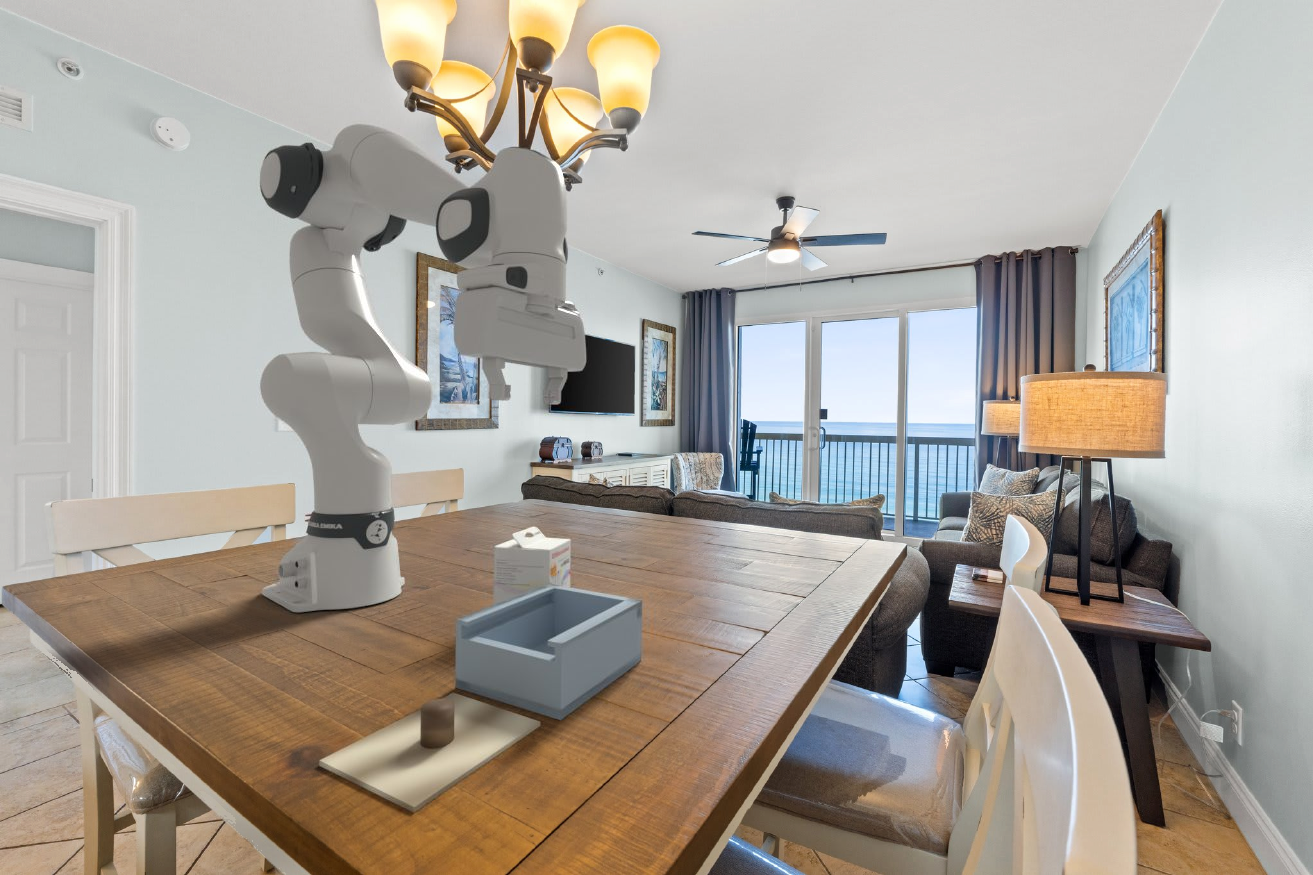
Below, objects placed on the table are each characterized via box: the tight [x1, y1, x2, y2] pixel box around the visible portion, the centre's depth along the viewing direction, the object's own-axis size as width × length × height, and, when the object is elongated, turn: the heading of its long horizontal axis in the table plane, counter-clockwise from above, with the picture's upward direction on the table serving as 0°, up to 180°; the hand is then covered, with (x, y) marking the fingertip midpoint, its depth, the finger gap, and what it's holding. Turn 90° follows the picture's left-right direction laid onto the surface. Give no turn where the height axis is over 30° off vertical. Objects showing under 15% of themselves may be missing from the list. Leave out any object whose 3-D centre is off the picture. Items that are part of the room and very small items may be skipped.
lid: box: [318, 692, 541, 814], centre depth 50 cm, size 12×14×4 cm
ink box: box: [493, 526, 572, 605], centre depth 81 cm, size 9×8×13 cm
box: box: [454, 584, 643, 721], centre depth 65 cm, size 14×16×7 cm
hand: (527, 402), depth 69 cm, fingers open, 8 cm apart
